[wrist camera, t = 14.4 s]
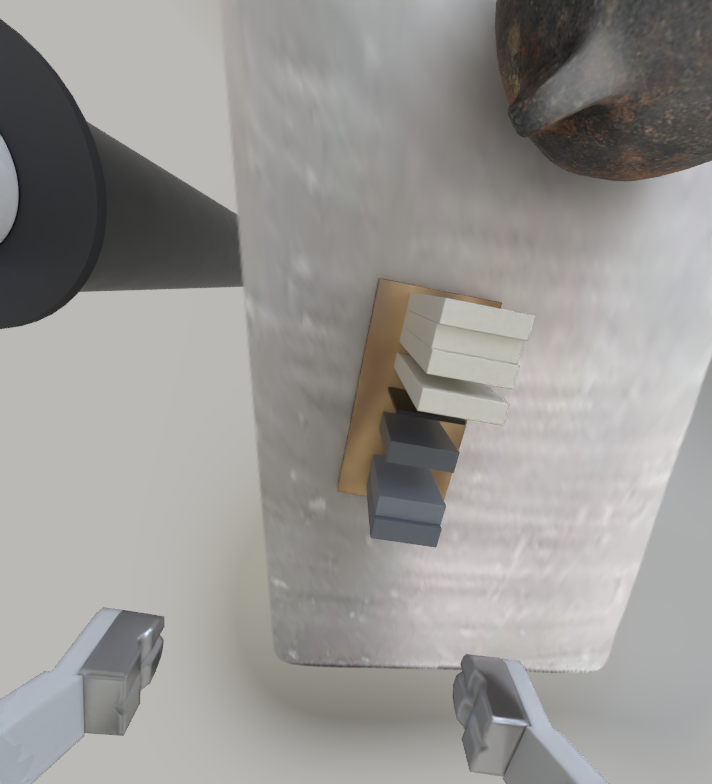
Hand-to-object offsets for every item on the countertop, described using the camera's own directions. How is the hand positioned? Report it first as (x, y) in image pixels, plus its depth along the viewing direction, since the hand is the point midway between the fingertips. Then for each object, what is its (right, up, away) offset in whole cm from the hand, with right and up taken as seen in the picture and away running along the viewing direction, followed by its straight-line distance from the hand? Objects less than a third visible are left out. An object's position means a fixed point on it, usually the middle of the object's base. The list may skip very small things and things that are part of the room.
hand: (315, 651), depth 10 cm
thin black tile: (+7, +7, +27) cm, 29 cm away
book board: (+7, +6, +29) cm, 30 cm away
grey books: (+6, 0, +29) cm, 30 cm away
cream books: (+9, +14, +25) cm, 30 cm away
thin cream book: (+8, +10, +27) cm, 29 cm away
